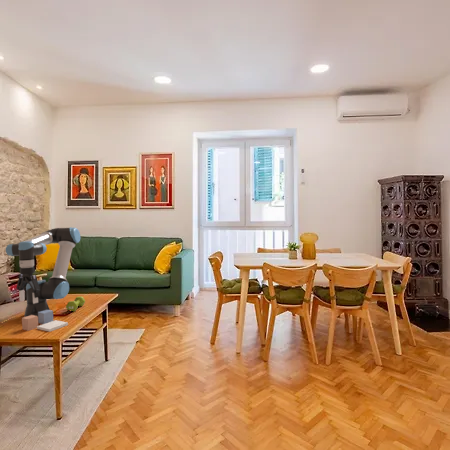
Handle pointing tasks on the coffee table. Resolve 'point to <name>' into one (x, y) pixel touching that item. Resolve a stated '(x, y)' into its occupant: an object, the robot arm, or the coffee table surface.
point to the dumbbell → (75, 303)
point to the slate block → (45, 316)
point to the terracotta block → (29, 322)
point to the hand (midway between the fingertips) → (28, 301)
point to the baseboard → (52, 325)
